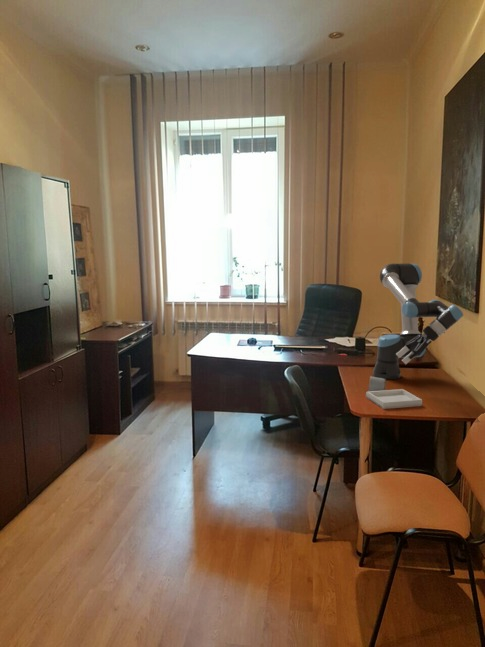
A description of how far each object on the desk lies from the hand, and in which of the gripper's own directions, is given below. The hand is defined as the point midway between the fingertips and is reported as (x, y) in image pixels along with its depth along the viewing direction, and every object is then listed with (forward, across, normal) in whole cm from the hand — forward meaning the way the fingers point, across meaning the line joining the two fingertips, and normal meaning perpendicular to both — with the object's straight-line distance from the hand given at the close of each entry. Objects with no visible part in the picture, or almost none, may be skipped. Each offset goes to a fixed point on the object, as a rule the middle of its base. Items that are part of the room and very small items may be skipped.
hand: (400, 359), depth 231 cm
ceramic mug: (+20, +1, -5) cm, 21 cm away
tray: (+16, -14, -9) cm, 23 cm away
